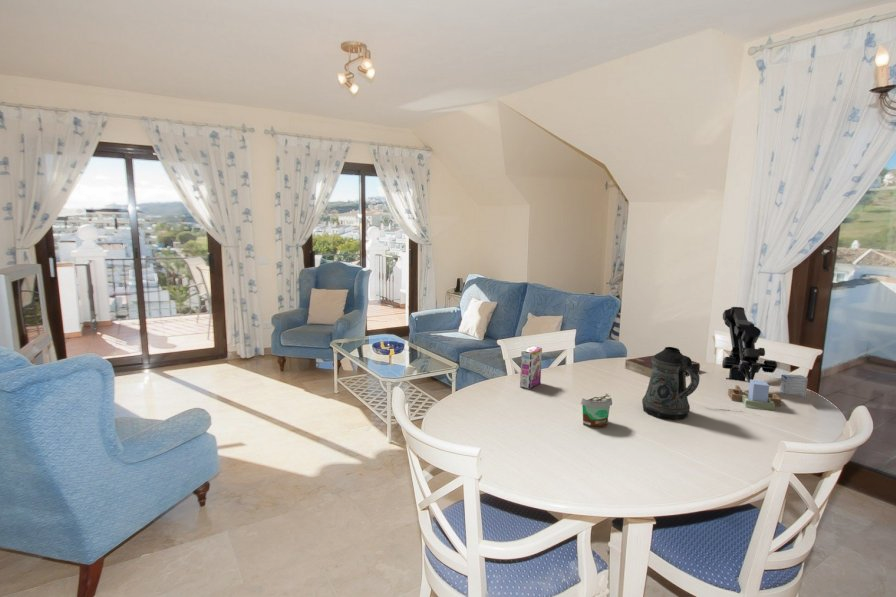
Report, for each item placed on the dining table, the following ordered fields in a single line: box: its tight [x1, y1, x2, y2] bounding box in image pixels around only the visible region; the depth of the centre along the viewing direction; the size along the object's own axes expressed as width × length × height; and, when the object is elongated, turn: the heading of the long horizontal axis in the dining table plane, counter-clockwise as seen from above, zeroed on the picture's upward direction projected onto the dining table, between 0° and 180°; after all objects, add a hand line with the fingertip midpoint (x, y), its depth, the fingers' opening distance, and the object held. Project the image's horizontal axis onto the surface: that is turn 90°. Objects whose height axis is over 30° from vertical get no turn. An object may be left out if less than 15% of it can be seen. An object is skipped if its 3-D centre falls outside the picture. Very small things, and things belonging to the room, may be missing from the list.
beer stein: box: [641, 346, 701, 421], centre depth 179 cm, size 16×19×25 cm
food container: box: [580, 393, 613, 429], centre depth 169 cm, size 12×6×10 cm, turn 117°
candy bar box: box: [519, 346, 543, 390], centre depth 210 cm, size 11×5×16 cm, turn 144°
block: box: [748, 379, 770, 402], centre depth 185 cm, size 6×5×9 cm
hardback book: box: [624, 354, 701, 378], centre depth 234 cm, size 29×19×5 cm, turn 115°
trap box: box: [727, 385, 782, 411], centre depth 190 cm, size 19×16×4 cm
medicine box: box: [779, 374, 809, 399], centre depth 199 cm, size 8×4×9 cm, turn 84°
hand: (751, 383), depth 195 cm, fingers closed
